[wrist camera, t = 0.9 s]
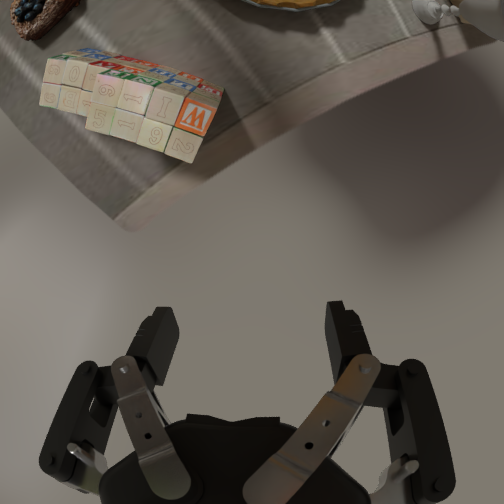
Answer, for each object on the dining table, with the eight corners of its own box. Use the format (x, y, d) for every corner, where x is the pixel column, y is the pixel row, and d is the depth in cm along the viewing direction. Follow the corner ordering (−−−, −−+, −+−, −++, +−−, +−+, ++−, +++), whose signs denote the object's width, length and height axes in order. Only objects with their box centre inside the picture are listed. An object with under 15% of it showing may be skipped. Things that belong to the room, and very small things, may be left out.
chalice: (401, 13, 20) (496, 22, 7) (410, -19, 15) (502, -23, 3) (439, 38, 21) (532, 66, 8) (448, 6, 17) (539, 23, 4)
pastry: (92, -5, 17) (69, -7, 13) (35, 48, 20) (11, 55, 16) (69, -43, 10) (47, -48, 6) (16, 9, 13) (-8, 13, 9)
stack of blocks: (75, 86, 27) (22, 113, 18) (86, 47, 23) (31, 61, 14) (206, 127, 34) (192, 166, 25) (226, 87, 30) (218, 109, 21)
